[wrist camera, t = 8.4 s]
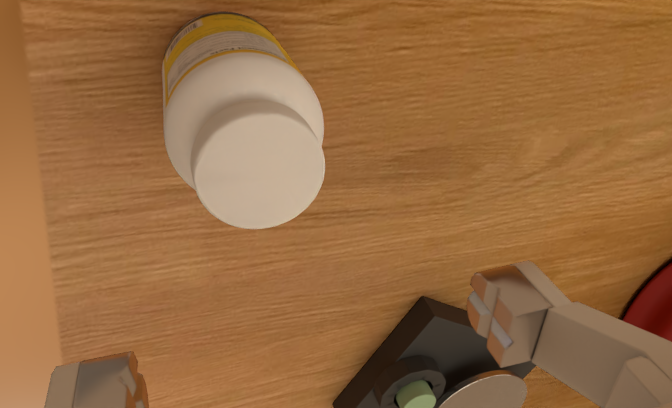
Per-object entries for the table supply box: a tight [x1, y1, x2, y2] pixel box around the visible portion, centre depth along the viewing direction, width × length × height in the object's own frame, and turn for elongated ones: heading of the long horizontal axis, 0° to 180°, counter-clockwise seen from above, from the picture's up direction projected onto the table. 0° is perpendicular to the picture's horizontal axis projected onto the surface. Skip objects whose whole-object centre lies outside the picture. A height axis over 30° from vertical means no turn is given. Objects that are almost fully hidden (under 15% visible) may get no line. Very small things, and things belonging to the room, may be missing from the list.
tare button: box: [396, 380, 436, 408], centre depth 41 cm, size 3×3×2 cm
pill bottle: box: [162, 12, 325, 229], centre depth 22 cm, size 6×6×12 cm
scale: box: [333, 296, 536, 408], centre depth 46 cm, size 16×14×4 cm
